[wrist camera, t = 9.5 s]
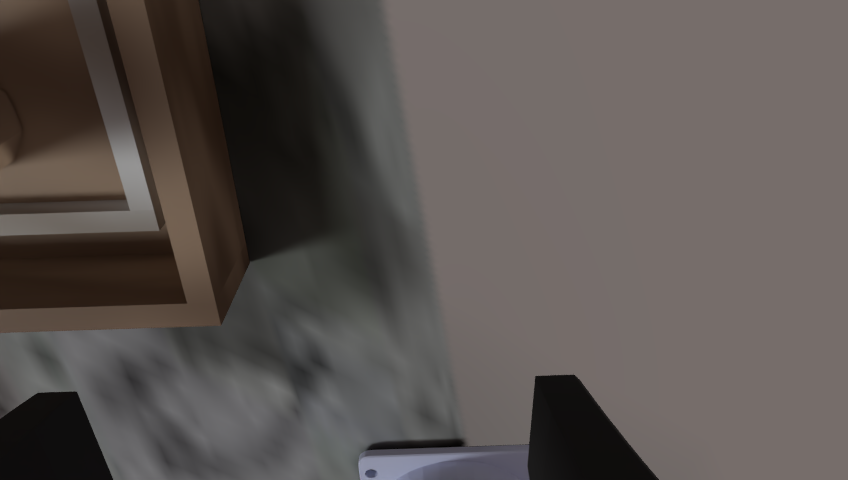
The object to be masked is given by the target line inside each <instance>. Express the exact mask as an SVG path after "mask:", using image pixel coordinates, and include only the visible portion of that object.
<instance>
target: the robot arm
mask: <svg viewBox="0 0 848 480" xmlns="http://www.w3.org/2000/svg"><path fill="white" fill-rule="evenodd" d="M358 465H359V474H360V480H659V479H658V478H657V477H656V476H655V475H654V473H653V472H652V471H651V470H650V469H649V468H648V466H647V465H646V464H645V463H644V462H643V461H642V459H641V458H640V457H639V456H638V454H637V453H636V452H635V451H634V450H633V448H632V447H631V446H630V445H629V444H628V442H627V441H626V440H625V439H624V437H623V436H622V435H621V433H620V432H619V431H618V430H617V428H616V427H615V426H614V425H613V423H612V422H611V421H610V420H609V418H608V417H607V416H606V414H605V413H604V412H603V410H602V409H601V408H600V406H599V405H598V404H597V402H596V401H595V400H594V398H593V397H592V396H591V394H590V393H589V392H588V390H587V389H586V388H585V386H584V385H583V384H582V382H581V381H580V380H579V379H578V378H577V377H576V376H575V375H552V376H536V377H535V388H534V399H533V409H532V420H531V432H530V442H529V444H528V445H503V446H502V445H500V446H470V447H442V448H413V449H384V450H367V451H365V452H363V453H361V455H360V456H359V464H358ZM370 469H372V470H370ZM0 480H113V478H112V476H111V473H110V471H109V468H108V466H107V464H106V461H105V459H104V456H103V454H102V451H101V449H100V447H99V444H98V442H97V439H96V437H95V435H94V432H93V430H92V427H91V425H90V423H89V420H88V418H87V415H86V413H85V410H84V408H83V406H82V403H81V401H80V398H79V396H78V394H77V392H49V393H37V394H35V395H34V396H32V397H31V398H29V399H28V400H27V401H25V402H24V403H22V404H21V405H19V406H18V407H16V408H15V409H14V410H12V411H11V412H9V413H8V414H7V415H5V416H4V417H3V418H1V419H0Z"/></svg>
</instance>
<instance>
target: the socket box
mask: <svg viewBox="0 0 848 480" xmlns="http://www.w3.org/2000/svg"><path fill="white" fill-rule="evenodd" d="M0 89H1V90H3V91H4V92H5V93H7V94H8V96H9V98H10V101H11V103H12V105H13V108H14V110H15V112H16V114H17V117H18V119H19V121H20V123H21V125H22V128H23V131H22V135H21V138H20V142H19V146H18V150H17V153H16V157H15V159H14V160H13V161H12V162H10V163H9V164H8V165H7V166H6V167H4V168H3V169H2V170H1V171H0V333H10V332H40V331H70V330H101V329H131V328H162V327H192V326H221V325H222V322H223V320H224V318H225V316H226V314H227V312H228V309H229V307H230V305H231V303H232V301H233V298H234V296H235V294H236V292H237V290H238V287H239V285H240V283H241V281H242V279H243V276H244V274H245V272H246V270H247V268H248V265H249V263H250V261H249V256H248V251H247V246H246V241H245V236H244V230H243V225H242V220H241V215H240V210H239V205H238V200H237V195H236V190H235V184H234V179H233V174H232V169H231V164H230V159H229V154H228V149H227V144H226V138H225V133H224V128H223V123H222V118H221V113H220V108H219V103H218V98H217V92H216V87H215V82H214V77H213V72H212V67H211V62H210V57H209V52H208V46H207V41H206V36H205V31H204V26H203V21H202V16H201V11H200V6H199V0H0Z"/></svg>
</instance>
